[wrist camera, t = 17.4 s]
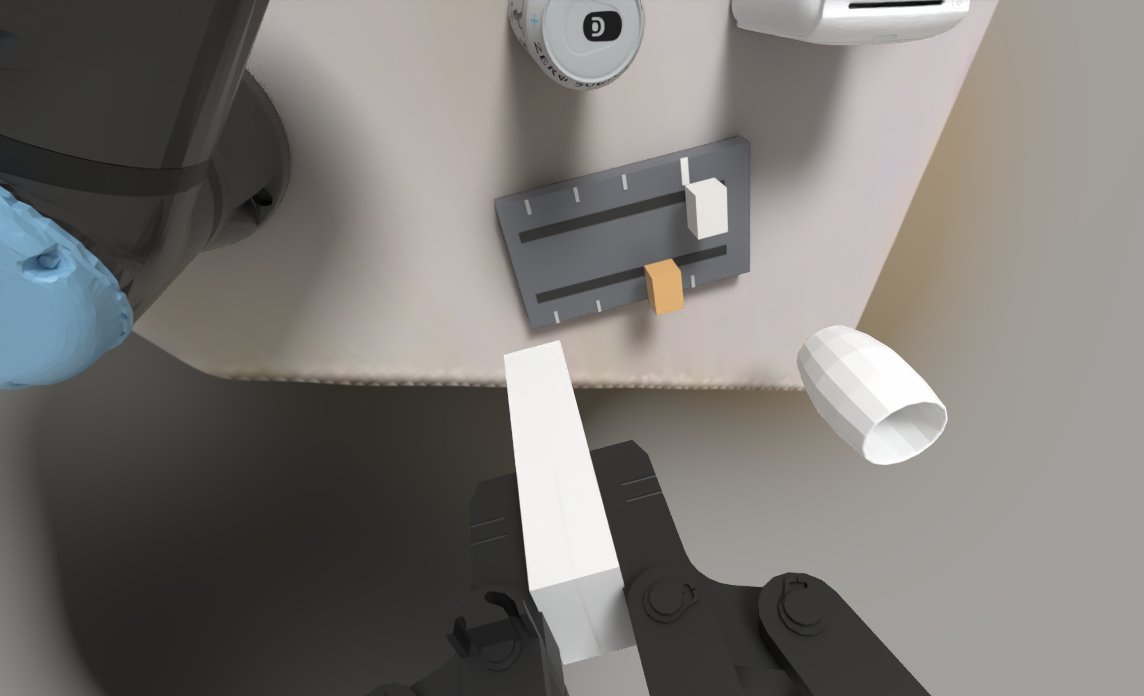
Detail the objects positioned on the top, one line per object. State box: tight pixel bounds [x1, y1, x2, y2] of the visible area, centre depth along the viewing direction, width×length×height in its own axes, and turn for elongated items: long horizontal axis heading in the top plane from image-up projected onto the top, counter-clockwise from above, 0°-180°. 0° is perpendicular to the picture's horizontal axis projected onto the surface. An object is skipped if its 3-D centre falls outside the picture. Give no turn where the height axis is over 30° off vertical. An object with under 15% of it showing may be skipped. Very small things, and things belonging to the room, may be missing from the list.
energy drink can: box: [508, 0, 645, 90], centre depth 31 cm, size 6×6×15 cm
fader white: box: [685, 178, 728, 240], centre depth 43 cm, size 2×4×4 cm, turn 12°
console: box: [495, 136, 750, 329], centre depth 47 cm, size 21×12×2 cm, turn 101°
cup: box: [797, 325, 948, 465], centre depth 46 cm, size 7×7×21 cm
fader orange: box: [644, 259, 684, 315], centre depth 46 cm, size 2×4×4 cm, turn 11°
